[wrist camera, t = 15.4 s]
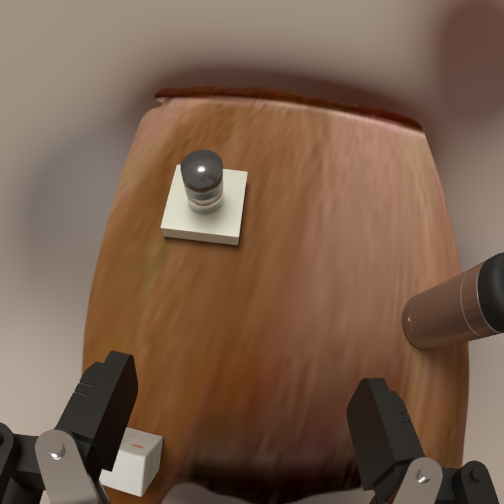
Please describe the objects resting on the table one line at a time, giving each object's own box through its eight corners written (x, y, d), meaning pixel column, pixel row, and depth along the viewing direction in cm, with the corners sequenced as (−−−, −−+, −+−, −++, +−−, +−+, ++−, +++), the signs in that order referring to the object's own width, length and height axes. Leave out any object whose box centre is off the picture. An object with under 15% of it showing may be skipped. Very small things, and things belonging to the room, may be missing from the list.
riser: (245, 182, 49) (247, 171, 46) (237, 245, 45) (238, 237, 42) (179, 175, 48) (177, 164, 45) (164, 236, 44) (160, 227, 41)
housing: (226, 186, 44) (226, 152, 37) (219, 216, 43) (218, 186, 35) (192, 181, 44) (186, 147, 37) (183, 211, 42) (175, 181, 35)
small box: (106, 454, 32) (75, 475, 22) (109, 420, 34) (77, 434, 24) (160, 470, 32) (141, 498, 22) (164, 436, 34) (145, 457, 24)
